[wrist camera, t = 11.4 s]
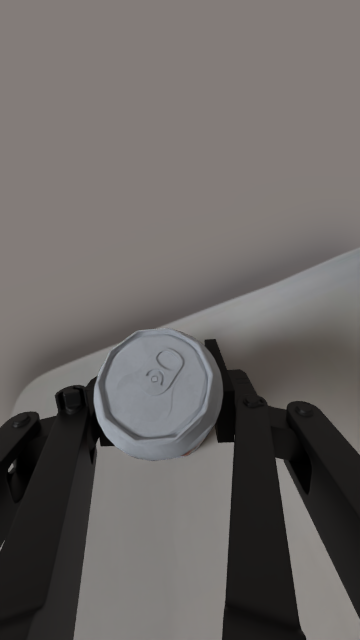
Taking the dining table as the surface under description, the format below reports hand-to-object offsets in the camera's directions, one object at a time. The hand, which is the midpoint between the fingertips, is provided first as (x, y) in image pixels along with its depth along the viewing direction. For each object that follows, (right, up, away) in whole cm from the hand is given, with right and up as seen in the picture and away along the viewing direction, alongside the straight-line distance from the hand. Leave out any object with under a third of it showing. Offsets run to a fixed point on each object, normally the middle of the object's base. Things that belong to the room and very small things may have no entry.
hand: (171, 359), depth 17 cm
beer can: (0, -5, +2) cm, 5 cm away
